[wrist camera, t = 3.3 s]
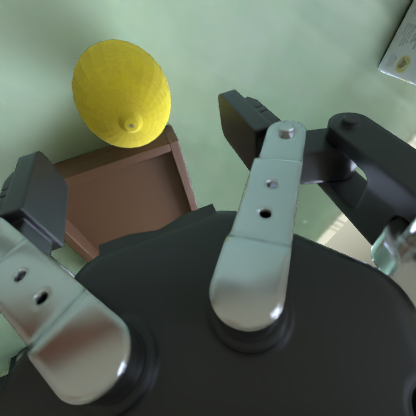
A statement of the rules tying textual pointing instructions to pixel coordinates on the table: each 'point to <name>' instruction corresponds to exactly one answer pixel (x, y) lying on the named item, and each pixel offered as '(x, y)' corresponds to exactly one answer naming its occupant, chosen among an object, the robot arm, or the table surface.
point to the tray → (124, 192)
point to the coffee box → (403, 50)
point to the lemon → (121, 93)
